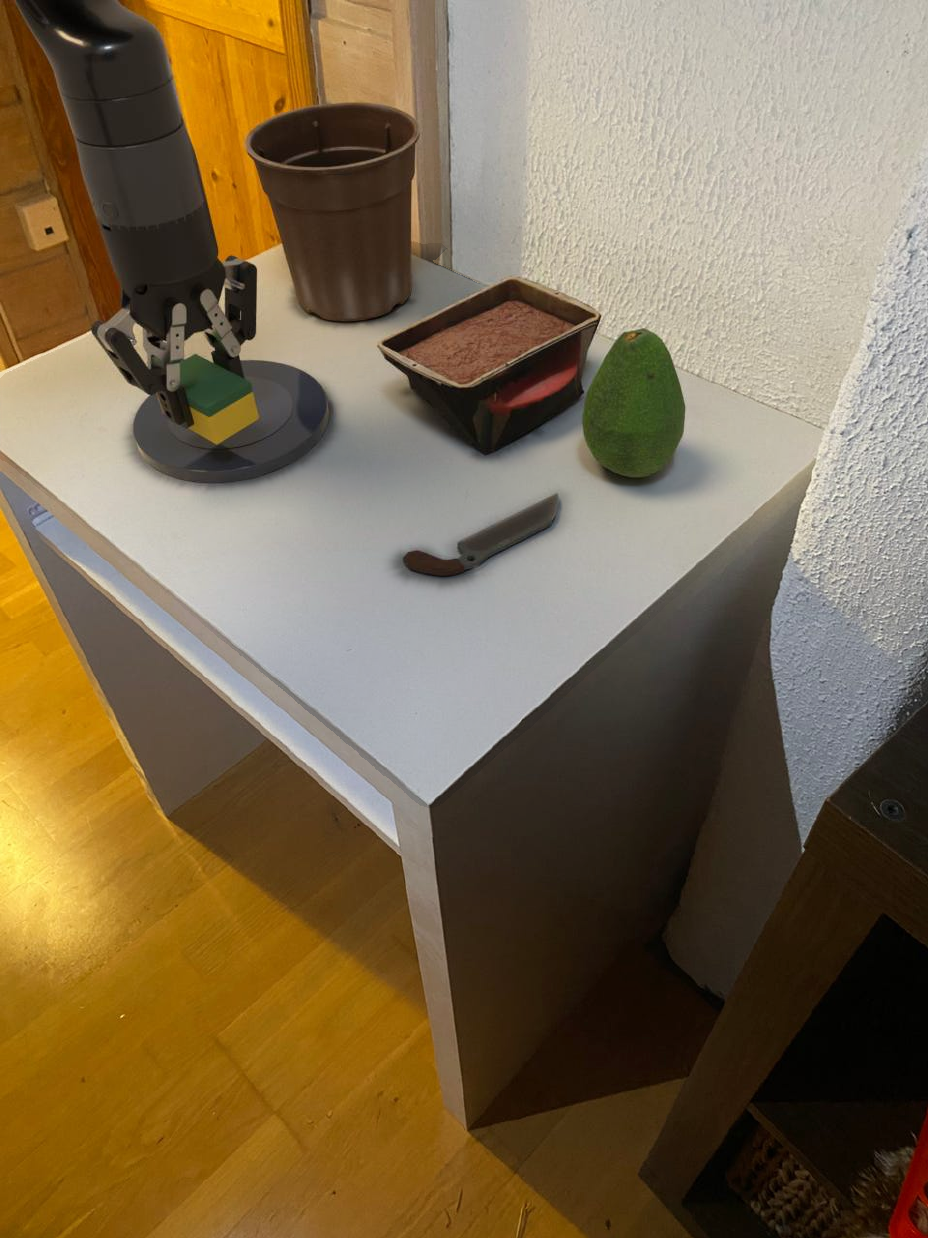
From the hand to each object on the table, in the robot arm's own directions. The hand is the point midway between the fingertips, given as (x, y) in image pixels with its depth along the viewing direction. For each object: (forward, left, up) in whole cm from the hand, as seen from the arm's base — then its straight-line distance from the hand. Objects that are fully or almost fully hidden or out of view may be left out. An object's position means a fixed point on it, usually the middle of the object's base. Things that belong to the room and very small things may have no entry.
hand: (208, 407), depth 75 cm
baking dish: (+21, -13, -5) cm, 25 cm away
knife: (+6, -25, -5) cm, 26 cm away
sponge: (0, 0, -1) cm, 1 cm away
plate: (+4, +3, -5) cm, 7 cm away
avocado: (+20, -28, -5) cm, 35 cm away
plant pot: (+27, +11, -5) cm, 29 cm away
